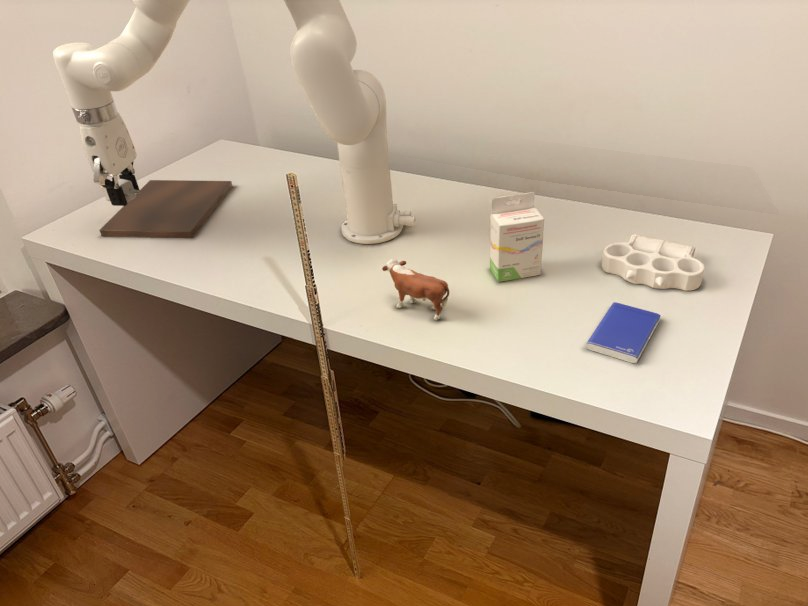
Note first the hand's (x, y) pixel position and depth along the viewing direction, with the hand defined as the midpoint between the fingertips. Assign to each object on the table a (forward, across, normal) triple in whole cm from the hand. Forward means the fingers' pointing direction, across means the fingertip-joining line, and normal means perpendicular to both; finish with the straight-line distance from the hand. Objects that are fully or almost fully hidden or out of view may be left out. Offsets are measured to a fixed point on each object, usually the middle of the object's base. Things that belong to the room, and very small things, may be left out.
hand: (126, 198), depth 144 cm
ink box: (+7, -14, -82) cm, 83 cm away
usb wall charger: (+1, 0, 0) cm, 1 cm away
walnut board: (+7, +8, -4) cm, 11 cm away
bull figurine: (+7, -27, -65) cm, 70 cm away
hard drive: (+7, -32, -100) cm, 105 cm away
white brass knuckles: (+7, -12, -106) cm, 107 cm away
